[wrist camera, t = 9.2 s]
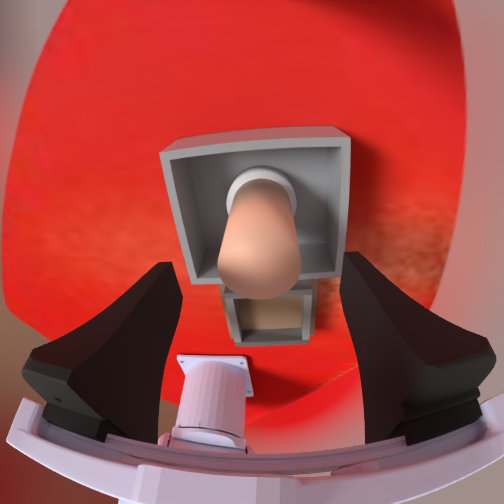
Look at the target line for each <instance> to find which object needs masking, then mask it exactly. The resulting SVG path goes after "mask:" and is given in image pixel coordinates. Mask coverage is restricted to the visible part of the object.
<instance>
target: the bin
mask: <svg viewBox="0 0 504 504" xmlns="http://www.w3.org/2000/svg"><path fill="white" fill-rule="evenodd" d="M159 154H160V159H161V163H162V168H163V173H164V178H165V182H166V187H167V191H168V196H169V200H170V204H171V208H172V213H173V217H174V221H175V225H176V229H177V233H178V237H179V241H180V244H181V248H182V252H183V256H184V259H185V263H186V267H187V270H188V274H189V277H190V281H191V284H192V285H193V284H223V281H222V280H221V278H220V276H219V273H218V267H217V265H218V258H219V254H220V250H221V245H222V241H223V237H224V233H225V229H226V225H227V221H228V217H229V215H228V212H227V206H226V201H227V196H228V192H229V189H230V186H231V184H232V182H233V180H234V178H235V177H236V176H237V175H238V174H239V173H240V172H242V171H243V170H245V169H247V168H249V167H252V166H257V165H266V166H271V167H274V168H277V169H278V170H280V171H282V172H283V173H284V174H285V175H286V176H287V177H288V178H289V179H290V181H291V183H292V185H293V188H294V192H295V196H296V201H297V208H296V213H295V215H294V218H293V219H294V224H295V230H296V235H297V241H298V247H299V252H300V258H301V273H300V276H299V279H298V280H305V279H321V278H336V277H341V274H342V265H343V255H344V252H345V244H346V233H347V220H348V206H349V187H350V157H351V137H349V136H348V135H346V134H345V133H343V132H342V131H340V130H339V129H337V128H336V127H334V126H297V127H275V128H260V129H248V130H237V131H228V132H219V133H211V134H204V135H196V136H190V137H183V138H179V139H178V140H176V141H175V142H174V143H172V144H171V145H169V146H168V147H166V148H165V149H164V150H162V151H161V152H160V153H159Z"/></svg>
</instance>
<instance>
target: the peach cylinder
mask: <svg viewBox="0 0 504 504" xmlns="http://www.w3.org/2000/svg"><path fill="white" fill-rule="evenodd" d="M226 206H227V212H228V215H229V217H228V221H227V225H226V229H225V233H224V237H223V241H222V245H221V250H220V254H219V258H218V265H217V267H218V273H219V276H220V278H221V280H222V281H223V283H224V284H225V285H226V286H227V287H228V288H229V289H230V290H231V291H233V292H234V293H236V294H238V295H240V296H242V297H246V298H250V299H257V300H263V299H271V298H274V297H278V296H280V295H282V294H284V293H286V292H287V291H289V290H290V289H291V288H292V287H293V286H294V285H295V284H296V282H297V280H298V279H299V276H300V273H301V258H300V252H299V247H298V241H297V235H296V230H295V224H294V219H293V218H294V215H295V213H296V208H297V201H296V196H295V192H294V188H293V185H292V183H291V181H290V179H289V178H288V177H287V176H286V175H285V174H284V173H283V172H282V171H280V170H278V169H277V168H274V167H271V166H266V165H257V166H252V167H249V168H247V169H245V170H243V171H242V172H240V173H239V174H238V175H237V176H236V177H235V178H234V180H233V182H232V184H231V186H230V189H229V192H228V196H227V201H226Z"/></svg>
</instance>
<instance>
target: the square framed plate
mask: <svg viewBox="0 0 504 504" xmlns="http://www.w3.org/2000/svg"><path fill="white" fill-rule="evenodd" d="M318 284H319V279H305V280H297V282H296V284H295V285H294V286H293V287H292V288H291V289H290V290H289V291H287V292H286V293H284V294H282V295H280V296H278V297H274V298H271V299H263V300H257V299H250V298H246V297H242V296H240V295H238V294H236V293H234V292H233V291H231V290H230V289H229V288H228V287H227V286H226V285H225V284H224V283H223V284H218V285H219V290H220V294H221V299H222V303H223V308H224V312H225V316H226V321H227V325H228V329H229V333H230V337H231V339H234V341H235V345H236V346H274V345H294V344H309V336H310V335H314V333H315V322H316V311H317V298H318Z"/></svg>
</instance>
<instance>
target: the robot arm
mask: <svg viewBox="0 0 504 504" xmlns="http://www.w3.org/2000/svg"><path fill="white" fill-rule="evenodd" d="M339 291H340V296H341V302H342V307H343V312H344V315H345V318H346V322H347V325H348V328H349V331H350V335H351V338H352V341H353V345H354V348H355V352H356V356H357V360H358V365H359V372H360V378H361V386H362V394H363V405H364V420H365V444H364V445H359V446H353V447H346V448H340V449H333V450H323V451H314V452H301V453H284V454H256V453H255V452H254V451H253V449H252V448H251V447H250V446H246V439H244V438H242V437H243V432H244V419H245V404H246V397H252V396H253V395H254V392H253V387H252V383H251V378H250V373H249V368H248V363H247V358H246V357H245V356H205V355H178V356H177V360H178V362H179V364H180V366H181V368H182V370H183V372H184V373H185V375H186V378H185V382H184V387H183V392H182V397H181V401H180V406H179V412H178V416H177V421H176V426H175V427H173V430H172V435H171V434H169V433H165V434H164V435H162V436H160V438H159V440H158V416H159V403H160V395H161V387H162V380H163V374H164V368H165V364H166V360H167V356H168V353H169V350H170V346H171V343H172V340H173V337H174V334H175V330H176V327H177V324H178V321H179V317H180V312H181V306H182V300H183V296H182V293H181V290H180V287H179V284H178V281H177V277H176V274H175V271H174V268H173V264H172V262H159V263H157V264H156V265H155V266H154V267H153V268H151V269H150V270H149V271H148V272H147V273H146V274H145V275H144V276H143V277H142V278H140V279H139V280H138V281H137V282H136V283H135V284H134V285H133V286H132V287H131V288H130V289H129V290H127V291H126V292H125V293H124V294H123V295H122V296H120V297H119V298H118V299H117V300H116V301H115V302H114V303H112V304H111V305H110V306H109V307H107V308H106V309H105V310H104V311H102V312H101V313H99V314H98V315H97V316H95V317H94V318H92V319H91V320H89V321H88V322H86V323H85V324H83V325H81V326H80V327H78V328H77V329H75V330H73V331H71V332H70V333H68V334H66V335H64V336H62V337H60V338H58V339H56V340H54V341H52V342H49V343H47V344H44V345H42V346H40V347H37V348H34V349H33V350H32V352H31V354H30V356H29V357H28V360H27V361H26V363H25V365H24V367H23V369H22V371H21V372H22V375H23V378H24V379H25V381H26V382H27V383H28V384H29V385H30V386H31V387H32V388H33V389H34V390H35V391H36V392H37V393H38V394H39V395H40V396H41V397H42V398H43V399H44V400H46V401H47V404H46V406H45V407H43V406H42V405H40V404H39V403H37V402H34V401H32V400H30V399H27V398H23V400H22V402H21V404H20V407H19V409H18V411H17V414H16V416H15V419H14V421H13V424H12V426H11V429H10V431H9V434H8V437H7V439H6V441H7V443H9V444H10V445H12V446H13V447H15V448H16V449H18V450H19V451H21V452H22V453H24V454H26V455H27V456H29V457H30V458H32V459H34V460H36V461H37V462H39V463H41V464H42V465H44V466H46V467H48V468H50V469H51V470H53V471H55V472H57V473H59V474H61V475H63V476H65V477H67V478H69V479H71V480H74V481H76V482H78V483H80V484H83V485H85V486H87V487H90V488H92V489H94V490H97V491H100V492H102V493H104V494H107V495H110V496H113V497H116V498H118V499H119V503H118V504H399V503H403V502H406V501H409V500H412V499H415V498H418V497H421V496H424V495H426V494H429V493H431V492H434V491H437V490H439V489H441V488H444V487H446V486H448V485H451V484H453V483H455V482H457V481H459V480H462V479H463V478H466V477H468V476H470V475H472V474H473V473H475V472H477V471H479V470H481V469H483V468H485V467H487V466H488V465H490V464H492V463H493V462H495V461H497V460H498V459H500V458H502V457H503V456H504V392H502V393H500V394H498V395H496V396H493V397H491V398H489V399H487V400H485V401H484V402H482V403H481V404H480V405H479V403H478V400H477V398H478V397H479V396H480V391H479V389H478V386H479V385H480V384H481V383H482V382H483V380H484V379H485V378H486V377H487V376H488V374H489V373H490V372H491V371H492V369H493V368H494V365H495V363H496V355H495V353H494V351H493V349H492V347H491V345H490V344H489V341H488V340H487V338H486V337H483V336H480V335H478V334H475V333H473V332H470V331H467V330H465V329H463V328H461V327H458V326H457V325H455V324H452V323H450V322H449V321H447V320H445V319H443V318H441V317H439V316H438V315H436V314H434V313H433V312H431V311H429V310H428V309H426V308H425V307H423V306H422V305H420V304H419V303H417V302H416V301H415V300H413V299H412V298H410V297H409V296H408V295H406V294H405V293H404V292H403V291H401V290H400V289H399V288H398V287H397V286H395V285H394V284H393V283H392V282H391V281H389V280H388V279H387V278H386V277H385V276H384V275H383V274H382V273H381V272H380V271H378V270H377V269H376V268H375V267H374V266H373V265H372V264H371V263H370V262H369V261H368V260H367V259H366V258H365V257H364V256H362V255H361V254H360V253H359V252H358V251H356V252H344V255H343V265H342V274H341V282H340V290H339ZM329 471H332V472H331V476H322V477H293V476H287V475H297V474H310V473H320V472H329Z"/></svg>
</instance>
